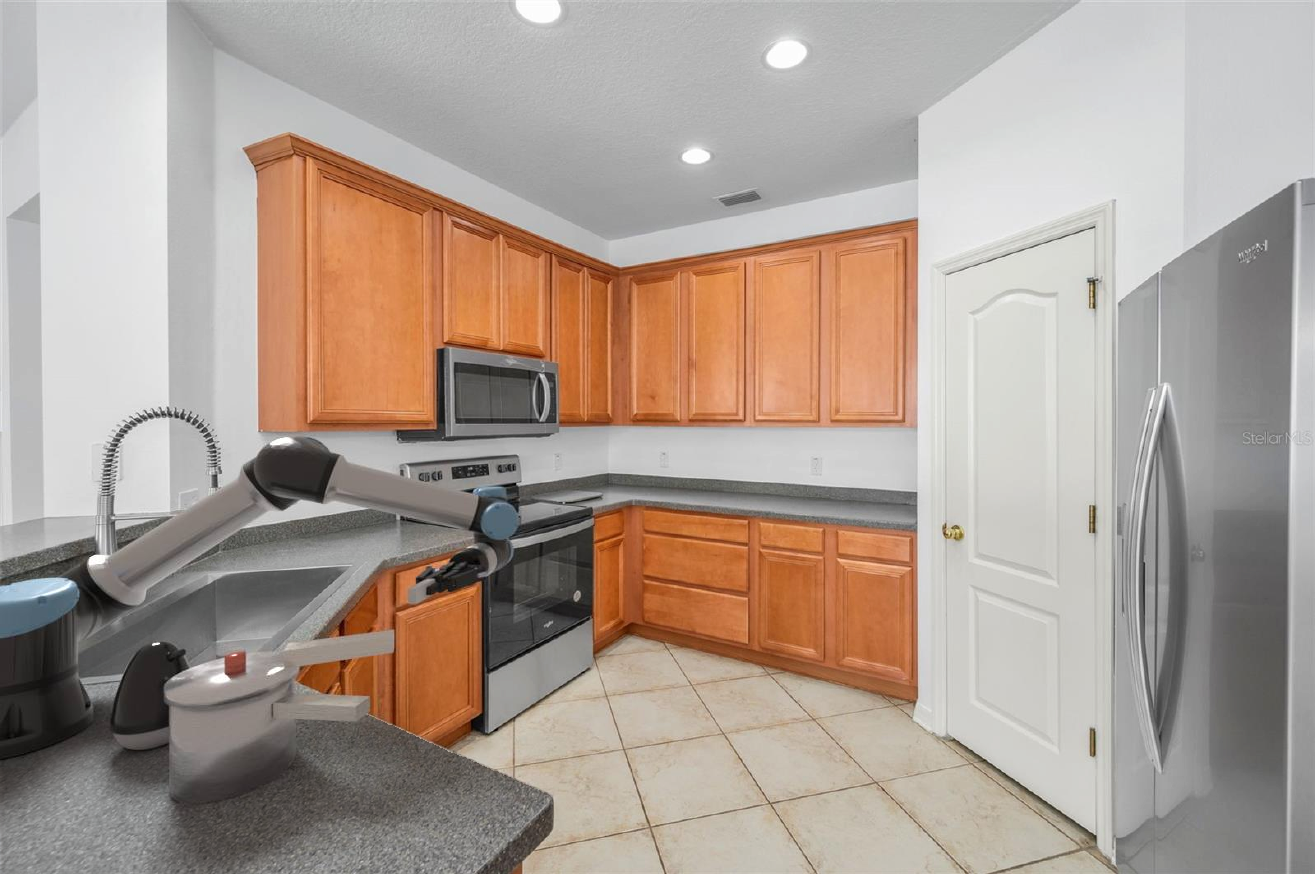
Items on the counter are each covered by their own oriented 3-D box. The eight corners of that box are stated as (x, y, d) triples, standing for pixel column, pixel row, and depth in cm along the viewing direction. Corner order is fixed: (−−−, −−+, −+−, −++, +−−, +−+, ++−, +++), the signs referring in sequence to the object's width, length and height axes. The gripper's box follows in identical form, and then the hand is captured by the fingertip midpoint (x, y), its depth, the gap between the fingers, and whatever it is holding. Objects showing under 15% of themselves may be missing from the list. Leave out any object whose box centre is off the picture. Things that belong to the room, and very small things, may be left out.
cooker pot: (139, 799, 72) (138, 706, 72) (233, 741, 86) (233, 662, 86) (327, 813, 69) (326, 715, 69) (393, 750, 83) (392, 669, 83)
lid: (142, 717, 68) (142, 685, 68) (187, 671, 82) (187, 644, 82) (392, 677, 79) (392, 649, 79) (395, 642, 93) (395, 618, 93)
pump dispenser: (147, 763, 80) (147, 656, 80) (91, 755, 82) (90, 651, 82) (217, 727, 90) (216, 632, 90) (165, 721, 92) (164, 628, 92)
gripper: (502, 582, 118) (448, 618, 95) (443, 581, 120) (376, 617, 96) (501, 547, 118) (447, 574, 95) (443, 546, 120) (375, 574, 96)
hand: (411, 596), depth 96 cm, fingers closed
